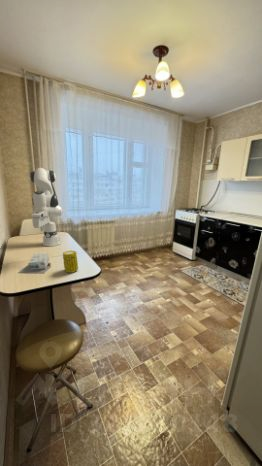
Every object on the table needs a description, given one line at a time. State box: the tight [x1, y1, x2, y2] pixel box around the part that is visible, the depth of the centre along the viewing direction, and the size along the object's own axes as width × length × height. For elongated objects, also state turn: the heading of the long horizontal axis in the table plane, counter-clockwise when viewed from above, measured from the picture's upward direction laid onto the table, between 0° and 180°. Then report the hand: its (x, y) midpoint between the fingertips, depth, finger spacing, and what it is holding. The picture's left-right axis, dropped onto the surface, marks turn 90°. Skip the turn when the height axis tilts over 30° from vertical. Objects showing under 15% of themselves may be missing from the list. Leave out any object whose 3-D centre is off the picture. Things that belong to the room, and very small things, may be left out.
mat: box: [17, 264, 52, 274], centre depth 140 cm, size 12×18×1 cm, turn 90°
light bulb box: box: [28, 252, 50, 270], centre depth 142 cm, size 11×7×11 cm
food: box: [62, 250, 79, 274], centre depth 138 cm, size 15×12×10 cm
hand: (42, 230), depth 150 cm, fingers closed
